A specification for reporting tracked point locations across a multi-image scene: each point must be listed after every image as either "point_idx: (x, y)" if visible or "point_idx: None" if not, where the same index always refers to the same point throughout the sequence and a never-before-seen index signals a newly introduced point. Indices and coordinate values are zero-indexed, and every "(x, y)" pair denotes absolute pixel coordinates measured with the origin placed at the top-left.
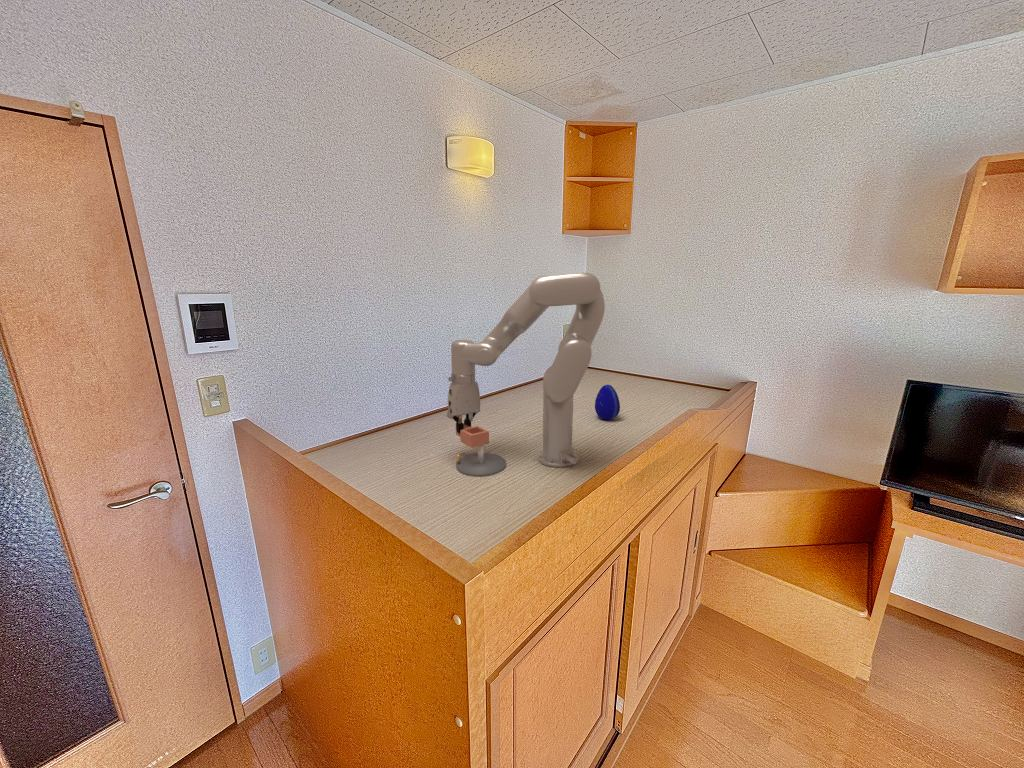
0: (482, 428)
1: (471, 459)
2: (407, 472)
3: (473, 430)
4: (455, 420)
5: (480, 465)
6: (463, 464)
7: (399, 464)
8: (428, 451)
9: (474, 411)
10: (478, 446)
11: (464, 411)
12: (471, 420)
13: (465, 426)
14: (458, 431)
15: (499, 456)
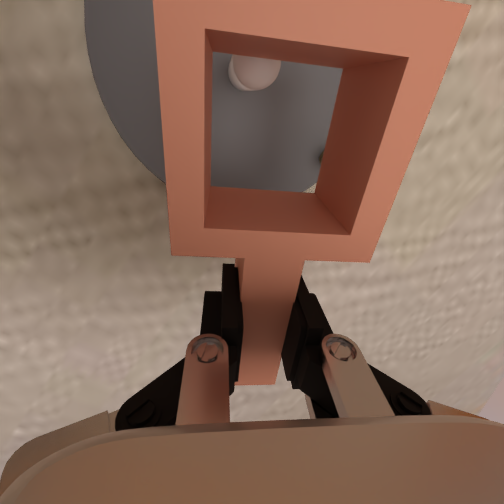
0: (169, 153)
1: (256, 150)
2: (468, 237)
3: (245, 219)
4: (379, 379)
5: None
6: (321, 128)
7: (429, 298)
8: None
9: (175, 446)
10: (279, 62)
11: (417, 483)
12: (201, 341)
13: (270, 305)
14: (313, 296)
15: (100, 60)
